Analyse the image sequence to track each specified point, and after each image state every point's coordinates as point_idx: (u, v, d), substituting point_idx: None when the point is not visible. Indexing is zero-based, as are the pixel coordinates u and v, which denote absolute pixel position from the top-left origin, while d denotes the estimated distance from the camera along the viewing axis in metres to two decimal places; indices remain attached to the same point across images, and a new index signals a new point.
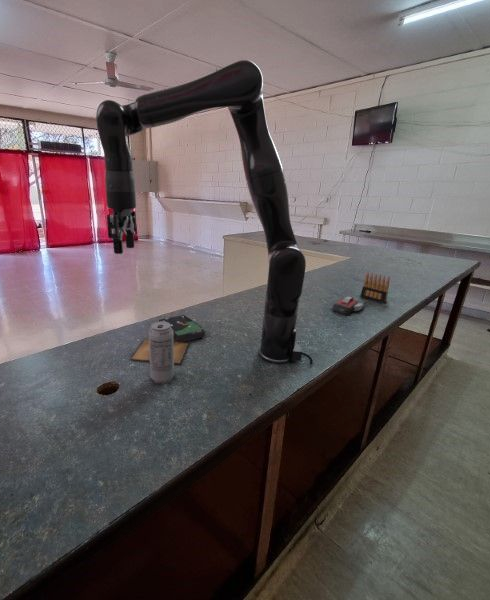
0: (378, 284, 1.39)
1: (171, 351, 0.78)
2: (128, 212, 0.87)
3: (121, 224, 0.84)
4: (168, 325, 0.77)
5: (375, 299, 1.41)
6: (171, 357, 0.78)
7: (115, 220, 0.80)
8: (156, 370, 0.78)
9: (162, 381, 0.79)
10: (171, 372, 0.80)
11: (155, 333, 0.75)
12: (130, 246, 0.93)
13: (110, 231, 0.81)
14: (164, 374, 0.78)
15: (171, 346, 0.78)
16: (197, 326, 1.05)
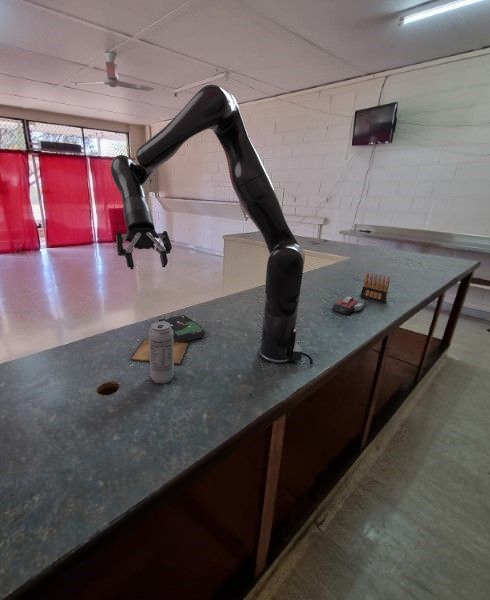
0: (378, 284, 1.39)
1: (171, 351, 0.78)
2: (148, 231, 0.86)
3: None
4: (168, 325, 0.77)
5: (375, 299, 1.41)
6: (171, 357, 0.78)
7: (117, 236, 0.82)
8: (156, 370, 0.78)
9: (162, 381, 0.79)
10: (171, 372, 0.80)
11: (155, 333, 0.75)
12: (163, 264, 0.84)
13: None
14: (164, 374, 0.78)
15: (171, 346, 0.78)
16: (197, 326, 1.05)
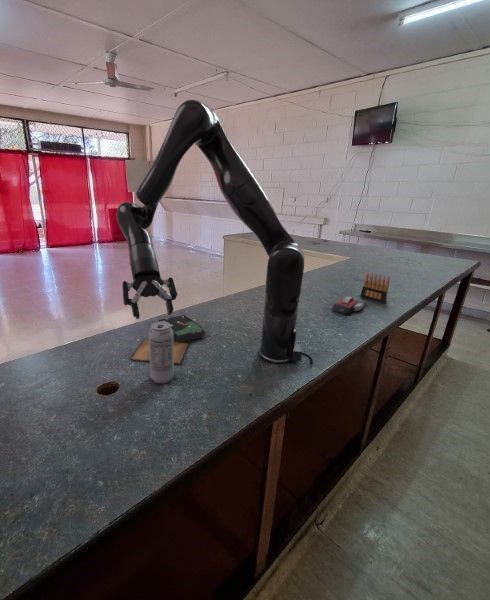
0: (378, 284, 1.39)
1: (171, 351, 0.78)
2: (154, 279, 0.86)
3: None
4: (168, 325, 0.77)
5: (375, 299, 1.41)
6: (171, 357, 0.78)
7: (123, 286, 0.83)
8: (156, 370, 0.78)
9: (162, 381, 0.79)
10: (171, 372, 0.80)
11: (155, 333, 0.75)
12: (168, 312, 0.84)
13: None
14: (164, 374, 0.78)
15: (171, 346, 0.78)
16: (197, 326, 1.05)
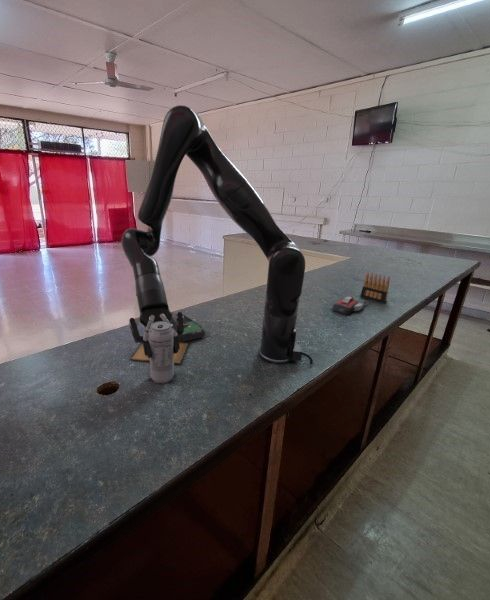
0: (378, 284, 1.39)
1: (171, 351, 0.78)
2: (162, 311, 0.81)
3: None
4: (168, 325, 0.77)
5: (375, 299, 1.41)
6: (171, 357, 0.78)
7: (130, 323, 0.78)
8: (156, 370, 0.78)
9: (162, 381, 0.79)
10: (171, 372, 0.80)
11: (155, 333, 0.75)
12: (174, 350, 0.79)
13: None
14: (164, 374, 0.78)
15: (172, 346, 0.78)
16: (197, 326, 1.05)
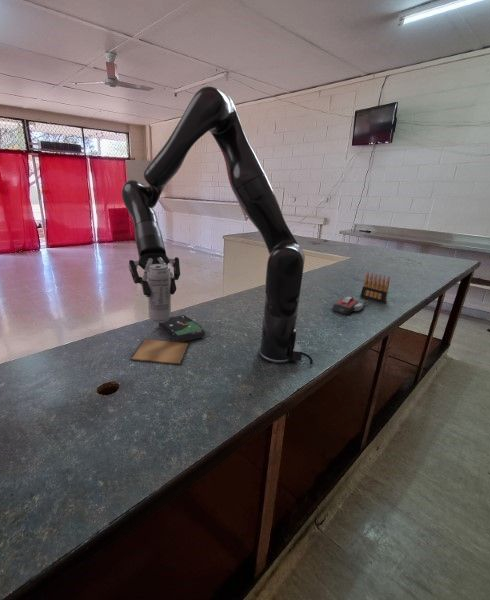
0: (378, 284, 1.39)
1: (168, 291, 0.83)
2: (160, 256, 0.86)
3: None
4: (165, 266, 0.82)
5: (375, 299, 1.41)
6: (168, 297, 0.83)
7: (130, 265, 0.83)
8: (154, 309, 0.83)
9: (160, 320, 0.84)
10: (168, 312, 0.85)
11: (153, 271, 0.80)
12: (171, 291, 0.84)
13: None
14: (162, 313, 0.83)
15: (169, 286, 0.83)
16: (197, 326, 1.05)
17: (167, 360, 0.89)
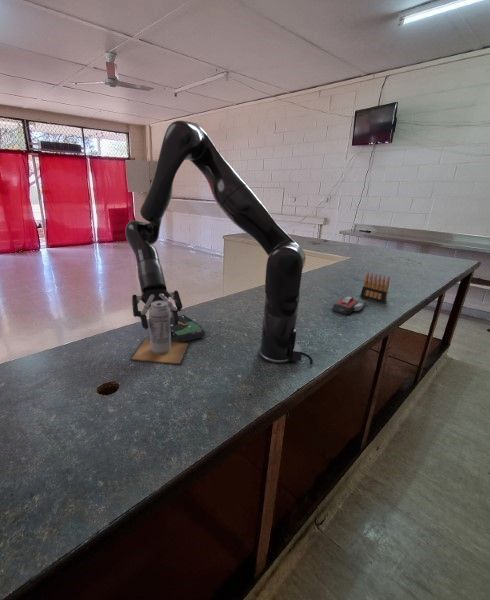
0: (378, 284, 1.39)
1: (168, 326, 0.90)
2: (161, 292, 0.94)
3: None
4: (166, 303, 0.90)
5: (375, 299, 1.41)
6: (168, 331, 0.91)
7: (132, 299, 0.90)
8: (155, 343, 0.91)
9: (160, 352, 0.92)
10: (168, 344, 0.92)
11: (154, 309, 0.87)
12: (174, 323, 0.92)
13: None
14: (163, 345, 0.91)
15: (169, 322, 0.90)
16: (197, 326, 1.05)
17: (167, 360, 0.89)
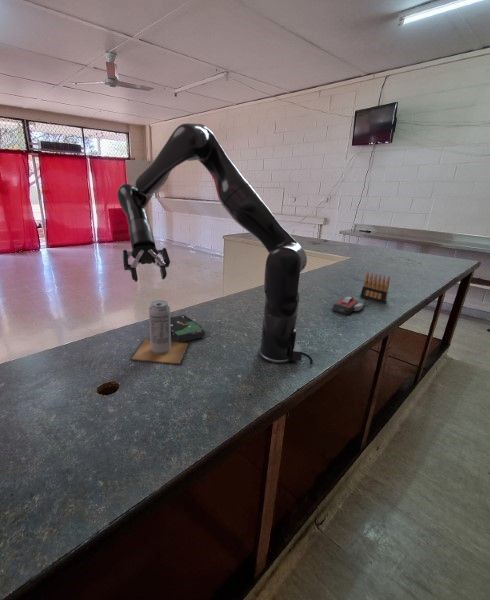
0: (378, 284, 1.39)
1: (168, 326, 0.90)
2: (150, 248, 1.00)
3: None
4: (166, 303, 0.90)
5: (375, 299, 1.41)
6: (168, 331, 0.91)
7: (123, 254, 0.97)
8: (155, 343, 0.91)
9: (160, 352, 0.92)
10: (168, 344, 0.92)
11: (154, 309, 0.87)
12: (162, 276, 0.98)
13: None
14: (163, 346, 0.91)
15: (169, 322, 0.90)
16: (197, 326, 1.05)
17: (167, 360, 0.89)
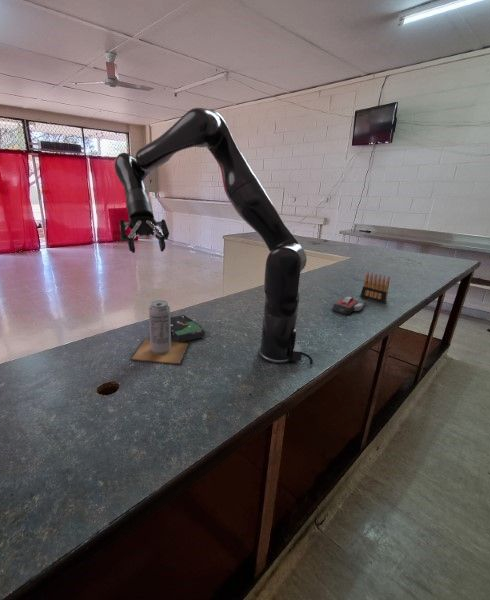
0: (378, 284, 1.39)
1: (168, 326, 0.90)
2: (148, 219, 0.96)
3: None
4: (166, 303, 0.90)
5: (375, 299, 1.41)
6: (168, 331, 0.91)
7: (120, 224, 0.92)
8: (155, 343, 0.91)
9: (161, 352, 0.92)
10: (168, 344, 0.92)
11: (154, 309, 0.87)
12: (161, 248, 0.94)
13: None
14: (163, 346, 0.91)
15: (169, 322, 0.90)
16: (197, 326, 1.05)
17: (167, 360, 0.89)
